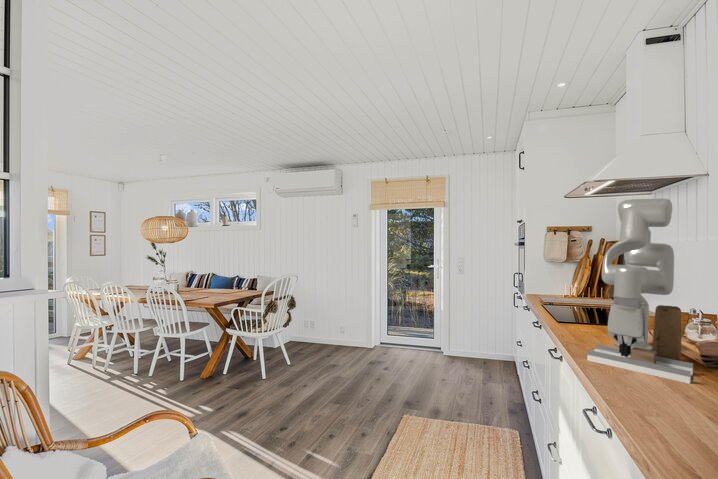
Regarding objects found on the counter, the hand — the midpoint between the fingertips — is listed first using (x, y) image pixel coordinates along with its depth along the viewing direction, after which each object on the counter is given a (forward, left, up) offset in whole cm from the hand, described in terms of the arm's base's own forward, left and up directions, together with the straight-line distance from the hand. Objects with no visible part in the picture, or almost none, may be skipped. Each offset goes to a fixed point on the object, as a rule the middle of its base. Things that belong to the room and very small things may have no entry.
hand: (624, 355), depth 127 cm
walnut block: (0, +5, -1) cm, 5 cm away
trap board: (0, +4, -3) cm, 5 cm away
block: (-14, +10, -3) cm, 18 cm away
